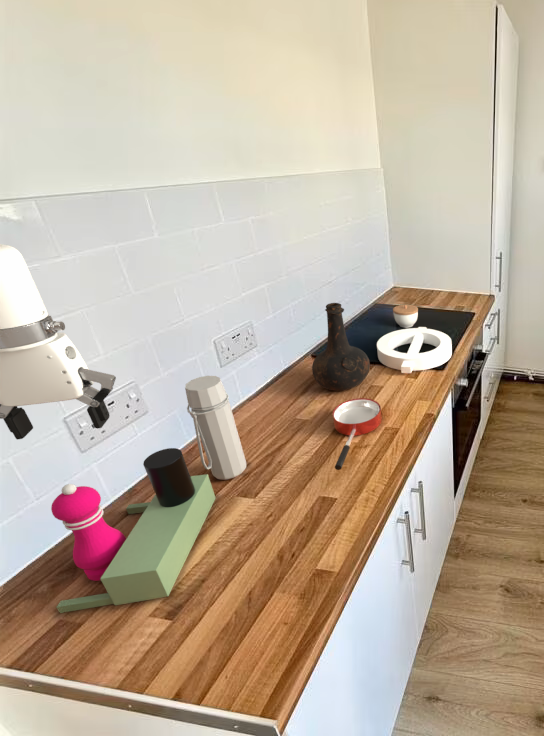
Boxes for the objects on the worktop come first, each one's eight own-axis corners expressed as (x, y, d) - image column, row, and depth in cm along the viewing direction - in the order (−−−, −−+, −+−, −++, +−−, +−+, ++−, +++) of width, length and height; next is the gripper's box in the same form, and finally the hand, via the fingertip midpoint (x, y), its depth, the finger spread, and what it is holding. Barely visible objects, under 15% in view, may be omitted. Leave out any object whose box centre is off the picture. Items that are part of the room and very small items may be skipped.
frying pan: (380, 480, 105) (378, 460, 102) (322, 488, 102) (319, 467, 99) (382, 408, 132) (380, 390, 130) (337, 412, 129) (334, 394, 126)
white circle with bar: (405, 378, 149) (404, 366, 147) (363, 351, 166) (362, 340, 164) (466, 355, 168) (466, 344, 166) (423, 333, 185) (423, 322, 183)
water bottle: (229, 458, 109) (203, 372, 98) (255, 465, 107) (232, 378, 96) (197, 483, 101) (165, 392, 90) (224, 490, 99) (195, 398, 88)
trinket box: (405, 318, 199) (404, 299, 194) (423, 324, 194) (422, 304, 190) (388, 325, 190) (387, 305, 186) (407, 331, 186) (406, 311, 181)
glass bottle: (326, 404, 133) (313, 320, 121) (307, 380, 145) (292, 301, 133) (380, 386, 144) (373, 307, 132) (358, 366, 156) (349, 292, 143)
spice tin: (153, 509, 85) (136, 470, 80) (167, 487, 90) (152, 449, 86) (188, 505, 86) (173, 466, 82) (200, 484, 91) (186, 446, 87)
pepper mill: (73, 578, 79) (24, 496, 70) (114, 545, 85) (74, 467, 76) (104, 588, 77) (58, 505, 68) (144, 554, 84) (106, 475, 75)
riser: (58, 615, 73) (40, 588, 69) (132, 508, 93) (121, 484, 90) (168, 596, 76) (156, 570, 73) (215, 498, 97) (207, 474, 94)
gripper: (103, 317, 68) (138, 408, 76) (-46, 327, 63) (8, 424, 70) (81, 336, 62) (122, 432, 70) (-88, 349, 56) (-24, 453, 64)
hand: (64, 428), depth 70 cm, fingers open, 9 cm apart
